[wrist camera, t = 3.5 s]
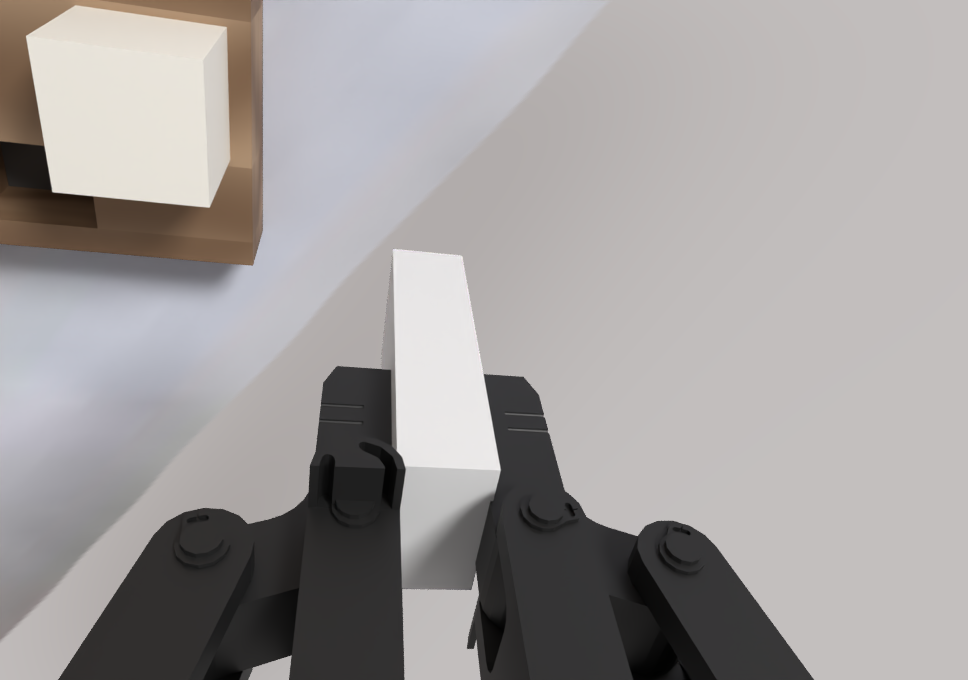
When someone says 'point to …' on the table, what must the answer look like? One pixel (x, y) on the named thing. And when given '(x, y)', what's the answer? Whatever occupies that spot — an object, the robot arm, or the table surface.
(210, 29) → the ivory block
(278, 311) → the table surface
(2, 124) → the board
